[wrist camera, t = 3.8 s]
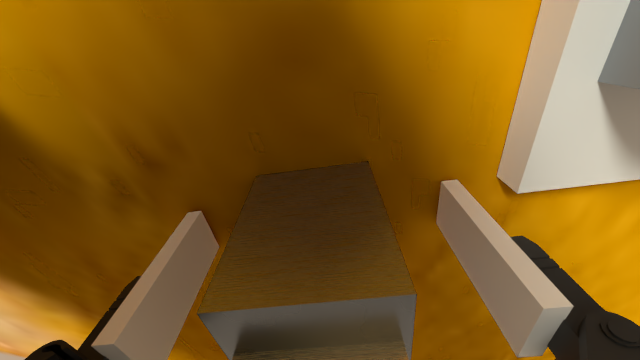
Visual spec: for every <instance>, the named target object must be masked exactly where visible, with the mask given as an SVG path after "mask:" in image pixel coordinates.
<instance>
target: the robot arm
mask: <svg viewBox="0 0 640 360" xmlns="http://www.w3.org/2000/svg"><path fill="white" fill-rule="evenodd" d="M436 224H437V225H438V227H439V229H440V230H441V232H442V234H443V235H444V237H445V239H446V240H447V242H448V244H449V245H450V247H451V249H452V250H453V252H454V254H455V255H456V257H457V258H458V260H459V262H460V263H461V265H462V267H463V268H464V270H465V272H466V273H467V275H468V277H469V278H470V280H471V282H472V283H473V285H474V287H475V288H476V290H477V292H478V293H479V295H480V297H481V298H482V300H483V302H484V303H485V305H486V307H487V308H488V310H489V312H490V313H491V315H492V317H493V318H494V320H495V322H496V323H497V325H498V326H499V328H500V330H501V331H502V333H503V335H504V336H505V338H506V340H507V341H508V343H509V345H510V346H511V348H512V350H513V351H514V353H515V355H516V356H517V357H531V356H542V355H543V353H544V352H545V350H546V349H547V347H549V349H550V350H551V351H552V353H553V354H554V355H555V357H556V359H555V360H640V327H639V326H638V325H637V324H635V323H634V322H632V321H631V320H629V319H627V318H624V317H622V316H620V315H618V314H615V313H611V312H607V311H605V310H604V309H603V308H602V307H601V306H599V305H598V304H597V303H596V302H595V301H594V300H593V299H592V298H591V297H590V296H589V295H588V294H587V293H586V292H585V291H584V290H583V289H582V288H581V287H580V286H579V285H578V284H577V283H576V282H575V281H574V280H573V279H572V278H571V277H570V276H569V275H568V274H567V273H566V272H565V271H564V270H563V269H562V268H559V265H558V264H557V263H556V262H555V261H554V260H553V259H550V258H549V255H548V254H547V253H546V252H545V251H543V250H542V249H541V248H540V247H539V246H538V245H537V244H535V243H534V242H532V241H530V240H529V239H527V238H525V237H524V236H515V237H509V235H508V234H507V233H506V232H505V231H504V230H503V229H502V228H501V227H500V226H499V225H498V223H497V222H496V221H495V220H494V219H493V218H492V217H491V216H490V215H489V214H488V213H487V212H486V210H485V209H484V208H483V207H482V206H481V205H480V204H479V203H478V202H477V201H476V200H475V198H474V197H473V196H472V195H471V194H470V193H469V192H468V191H467V190H466V189H465V188H464V187H463V185H462V184H461V183H460V182H459V181H458V180H457V179H456V180H448V181H441V187H440V195H439V204H438V212H437V220H436ZM218 249H219V245H218V243H217V241H216V239H215V237H214V235H213V233H212V231H211V229H210V227H209V225H208V223H207V221H206V219H205V217H204V215H203V213H202V211H195V212H188V213H187V214H186V216H185V217H184V218H183V220H182V221H181V222H180V224H179V225H178V227H177V228H176V229H175V231H174V232H173V233H172V235H171V236H170V238H169V239H168V240H167V242H166V243H165V245H164V246H163V247H162V249H161V250H160V251H159V253H158V254H157V256H156V257H155V258H154V260H153V261H152V262H151V264H150V265H149V267H148V268H147V269H146V271H145V272H144V273H143V275H142V276H137V277H136V278H135V279H134V280H133V281H132V282H131V283H129V284H128V285H127V286H126V287H125V288H124V290H123V291H122V292H121V294H120V295H119V296H118V297H117V300H116V301H114V303H113V304H112V305H111V307H110V308H109V311H107V312H106V313H105V315H104V316H103V317H102V319H101V320H100V321H99V323H98V324H97V325H96V327H95V328H94V329H93V330H92V332H91V333H90V334H89V336H88V337H87V338H86V340H85V341H84V342H83V344H82V345H81V346H80V348H79V349H78V350H76V349H74V348H73V347H72V346H70V345H69V344H68V343H67V342H65V341H63V340H57V341H52V342H50V343H48V344H46V345H43V346H42V347H40V348H39V349H37V350H36V351H34V352H33V353H32V354H30V355H29V356H28V357H27V358H26V359H25V360H167V359H168V357H169V354H170V352H171V350H172V348H173V346H174V344H175V342H176V339H177V337H178V335H179V333H180V331H181V329H182V326H183V324H184V322H185V320H186V318H187V316H188V314H189V311H190V309H191V307H192V305H193V303H194V301H195V298H196V296H197V294H198V292H199V290H200V288H201V286H202V283H203V281H204V279H205V277H206V275H207V273H208V270H209V268H210V266H211V264H212V262H213V260H214V257H215V255H216V253H217V251H218Z"/></svg>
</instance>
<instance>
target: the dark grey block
mask: <svg viewBox="0 0 640 360" xmlns="http://www.w3.org/2000/svg"><path fill="white" fill-rule="evenodd" d="M416 297H417V294H416V291H415V288H414V285H413V283H412V280H411V277H410V274H409V272H408V269H407V266H406V264H405V261H404V258H403V255H402V253H401V250H400V247H399V245H398V242H397V239H396V236H395V234H394V231H393V228H392V225H391V223H390V220H389V217H388V215H387V212H386V209H385V206H384V204H383V201H382V198H381V195H380V193H379V190H378V187H377V185H376V182H375V179H374V176H373V174H372V171H371V168H370V165H369V163H368V161H367V162H359V163H351V164H344V165H336V166H328V167H321V168H313V169H305V170H298V171H290V172H282V173H275V174H267V175H259V176H256V178H255V181H254V183H253V185H252V187H251V190H250V192H249V194H248V197H247V199H246V201H245V204H244V206H243V208H242V211H241V213H240V215H239V217H238V220H237V222H236V224H235V227H234V229H233V231H232V234H231V236H230V238H229V241H228V243H227V245H226V247H225V250H224V252H223V254H222V257H221V259H220V261H219V264H218V266H217V268H216V271H215V273H214V275H213V277H212V280H211V282H210V284H209V287H208V289H207V291H206V294H205V296H204V298H203V301H202V303H201V305H200V307H199V310H198V312H197V315H198V316H199V318H200V319H201V320H202V322H203V323H204V325H205V326H206V327H207V329H208V330H209V332H210V333H211V335H212V336H213V337H214V339H215V340H216V342H217V343H218V344H219V346H220V347H221V349H222V350H223V352H224V353H225V354H226V356H227V357H228V359H229V360H411V352H412V341H413V330H414V319H415V308H416Z"/></svg>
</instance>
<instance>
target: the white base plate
mask: <svg viewBox="0 0 640 360" xmlns="http://www.w3.org/2000/svg"><path fill="white" fill-rule="evenodd" d="M497 177H498V178H499V179H500V180H502V181H503V182H504V183H505V184H506V185H508V186H509V187H510V188H511V189H512V190H514V191H515V192H516V193H517V194H518V193H527V192H535V191H544V190H552V189H561V188H570V187H578V186H587V185H595V184H604V183H613V182H621V181H630V180H638V179H640V0H542V3H541V6H540V10H539V14H538V18H537V22H536V26H535V30H534V34H533V37H532V41H531V45H530V49H529V53H528V57H527V61H526V65H525V68H524V72H523V76H522V80H521V84H520V88H519V92H518V95H517V99H516V103H515V107H514V111H513V115H512V119H511V123H510V126H509V130H508V134H507V138H506V142H505V146H504V150H503V154H502V157H501V161H500V165H499V169H498V173H497Z"/></svg>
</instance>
